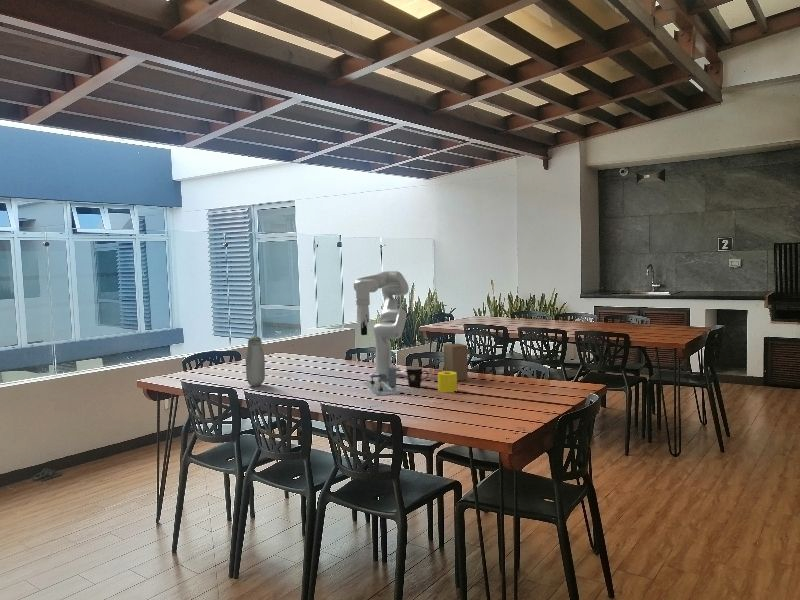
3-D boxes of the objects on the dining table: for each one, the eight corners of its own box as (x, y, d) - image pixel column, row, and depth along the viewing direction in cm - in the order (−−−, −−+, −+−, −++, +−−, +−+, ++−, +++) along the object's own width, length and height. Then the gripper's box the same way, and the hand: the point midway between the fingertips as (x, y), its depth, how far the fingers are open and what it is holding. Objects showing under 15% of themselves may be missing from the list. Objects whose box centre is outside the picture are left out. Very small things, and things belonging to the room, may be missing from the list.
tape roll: (436, 389, 326) (436, 371, 325) (455, 388, 327) (454, 371, 326) (439, 393, 316) (439, 375, 315) (458, 392, 317) (458, 374, 316)
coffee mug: (403, 386, 334) (403, 368, 334) (413, 383, 341) (413, 366, 340) (419, 389, 326) (419, 370, 326) (429, 386, 333) (429, 368, 332)
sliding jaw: (393, 385, 324) (393, 367, 323) (396, 386, 319) (395, 369, 319) (377, 386, 321) (376, 368, 321) (379, 388, 317) (379, 370, 316)
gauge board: (384, 382, 345) (384, 372, 344) (399, 393, 316) (398, 382, 316) (363, 384, 342) (363, 373, 341) (376, 395, 313) (376, 384, 312)
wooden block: (467, 380, 348) (467, 345, 347) (452, 381, 344) (452, 346, 342) (458, 377, 357) (458, 343, 356) (444, 378, 353) (443, 344, 351)
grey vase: (260, 387, 338) (259, 337, 336) (243, 387, 340) (241, 337, 338) (268, 384, 347) (266, 335, 345) (251, 383, 349) (249, 335, 348)
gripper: (353, 301, 347) (354, 333, 349) (360, 304, 333) (361, 337, 335) (365, 301, 349) (366, 332, 351) (373, 303, 335) (374, 336, 337)
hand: (364, 334), depth 343 cm, fingers closed
